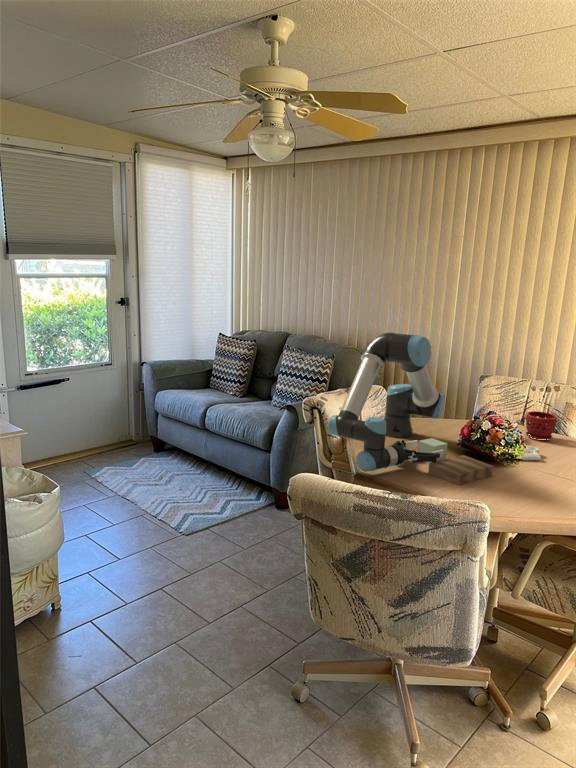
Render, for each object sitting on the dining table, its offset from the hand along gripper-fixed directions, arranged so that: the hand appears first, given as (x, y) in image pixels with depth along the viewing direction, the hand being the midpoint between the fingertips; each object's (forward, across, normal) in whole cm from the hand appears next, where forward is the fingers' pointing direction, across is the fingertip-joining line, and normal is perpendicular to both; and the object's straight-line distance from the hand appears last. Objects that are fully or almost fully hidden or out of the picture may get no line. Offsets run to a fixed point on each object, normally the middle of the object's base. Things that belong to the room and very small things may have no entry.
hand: (429, 448), depth 227 cm
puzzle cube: (+58, -10, -6) cm, 59 cm away
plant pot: (+76, +2, -6) cm, 76 cm away
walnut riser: (0, +16, -6) cm, 17 cm away
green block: (+2, 0, -6) cm, 6 cm away
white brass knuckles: (+43, +13, -6) cm, 46 cm away
